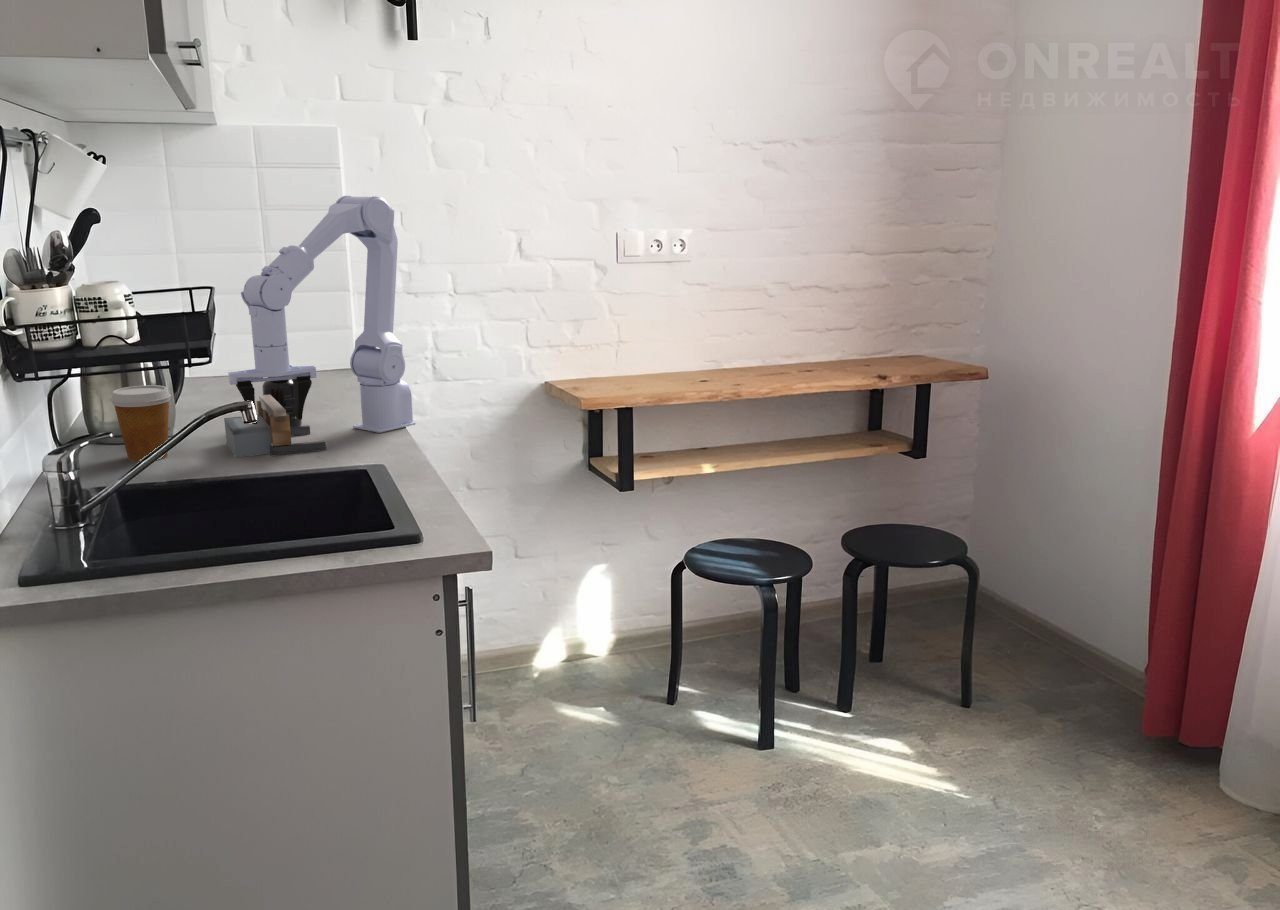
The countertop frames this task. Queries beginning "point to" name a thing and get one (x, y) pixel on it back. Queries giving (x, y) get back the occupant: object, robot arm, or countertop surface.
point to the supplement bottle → (283, 397)
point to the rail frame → (298, 446)
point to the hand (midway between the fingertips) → (277, 420)
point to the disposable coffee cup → (142, 418)
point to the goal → (247, 437)
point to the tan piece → (275, 419)
